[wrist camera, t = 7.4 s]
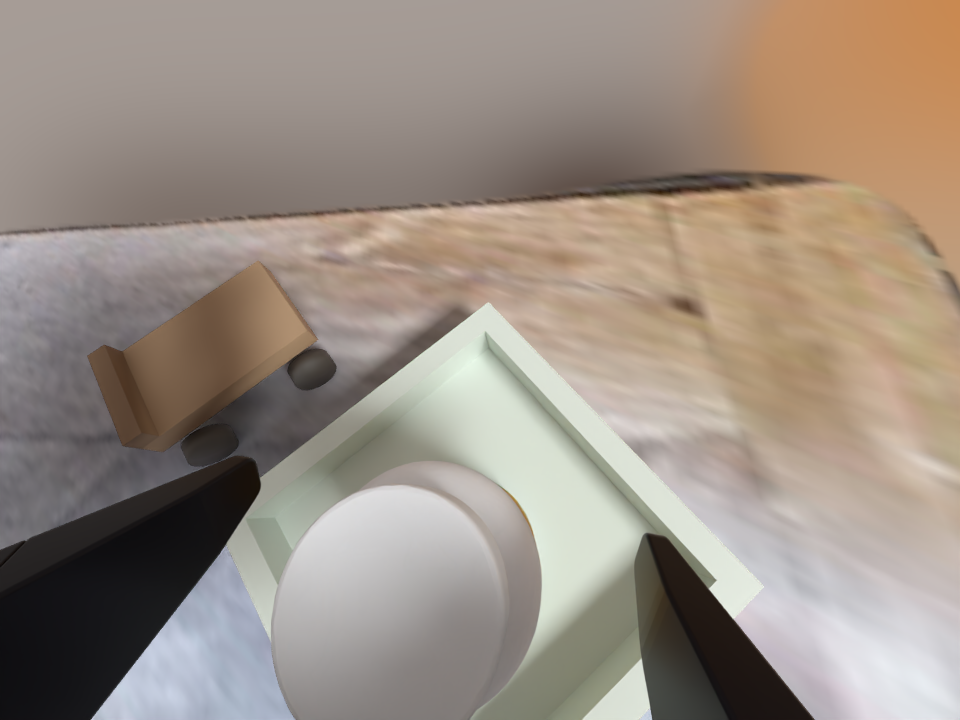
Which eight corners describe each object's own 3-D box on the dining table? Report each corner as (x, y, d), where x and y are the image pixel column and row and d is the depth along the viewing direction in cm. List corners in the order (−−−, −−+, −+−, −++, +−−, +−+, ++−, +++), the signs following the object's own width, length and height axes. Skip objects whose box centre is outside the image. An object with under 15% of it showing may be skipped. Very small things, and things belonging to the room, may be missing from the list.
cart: (207, 470, 18) (129, 462, 14) (160, 372, 20) (82, 343, 17) (346, 367, 19) (305, 335, 16) (287, 284, 22) (239, 239, 18)
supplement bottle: (524, 469, 16) (523, 424, 7) (546, 619, 14) (584, 826, 5) (399, 484, 16) (245, 460, 7) (404, 633, 14) (201, 849, 5)
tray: (435, 872, 12) (415, 956, 10) (254, 513, 17) (212, 514, 15) (725, 573, 15) (764, 586, 12) (492, 326, 19) (488, 302, 17)
